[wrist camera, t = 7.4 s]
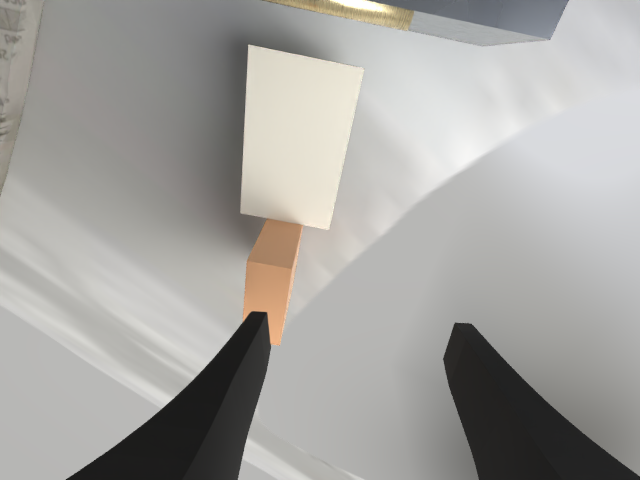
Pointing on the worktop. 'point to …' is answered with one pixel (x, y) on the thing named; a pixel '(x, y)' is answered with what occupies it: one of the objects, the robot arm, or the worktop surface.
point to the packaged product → (15, 69)
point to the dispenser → (451, 17)
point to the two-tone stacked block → (291, 164)
